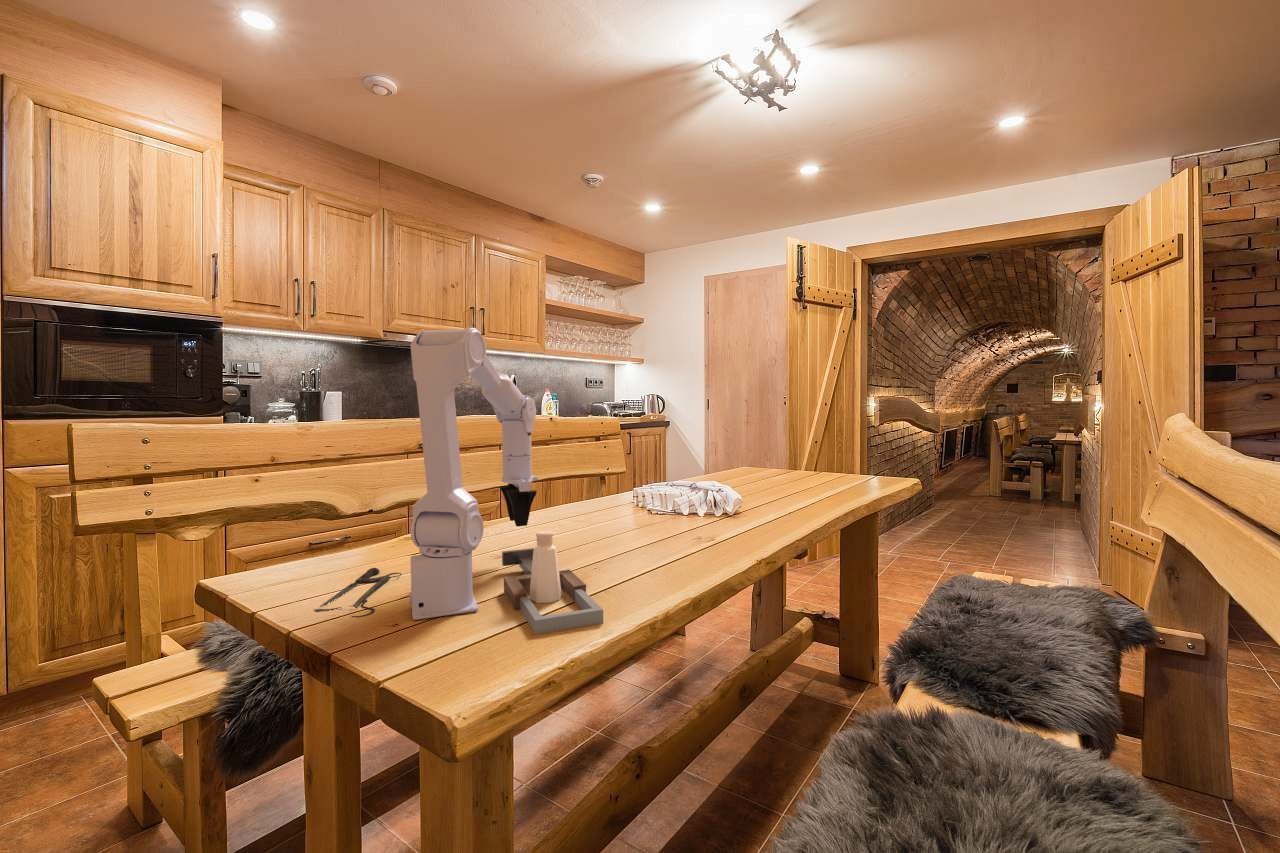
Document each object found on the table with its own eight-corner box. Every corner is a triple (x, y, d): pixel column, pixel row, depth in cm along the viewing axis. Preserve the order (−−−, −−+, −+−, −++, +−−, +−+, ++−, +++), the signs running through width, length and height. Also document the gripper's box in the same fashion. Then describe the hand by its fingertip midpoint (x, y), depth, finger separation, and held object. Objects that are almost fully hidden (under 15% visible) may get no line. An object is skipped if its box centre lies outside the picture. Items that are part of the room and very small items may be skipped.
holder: (514, 610, 89) (514, 594, 89) (504, 592, 98) (503, 577, 98) (586, 599, 93) (586, 584, 93) (569, 583, 102) (569, 569, 102)
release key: (516, 587, 97) (516, 570, 97) (502, 566, 110) (501, 551, 109) (562, 580, 100) (562, 565, 100) (543, 561, 113) (543, 547, 113)
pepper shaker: (522, 601, 93) (521, 534, 93) (541, 591, 98) (540, 527, 98) (550, 605, 91) (549, 536, 91) (568, 595, 96) (567, 529, 96)
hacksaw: (370, 574, 111) (370, 566, 111) (424, 573, 111) (423, 565, 111) (299, 621, 87) (299, 611, 86) (368, 619, 87) (368, 609, 87)
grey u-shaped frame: (535, 634, 79) (535, 620, 79) (520, 610, 89) (520, 597, 89) (603, 623, 83) (603, 609, 83) (581, 600, 93) (581, 588, 93)
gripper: (545, 457, 109) (546, 527, 109) (529, 451, 122) (530, 514, 123) (508, 458, 106) (509, 531, 107) (495, 453, 119) (496, 517, 120)
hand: (518, 522), depth 114 cm, fingers open, 5 cm apart
